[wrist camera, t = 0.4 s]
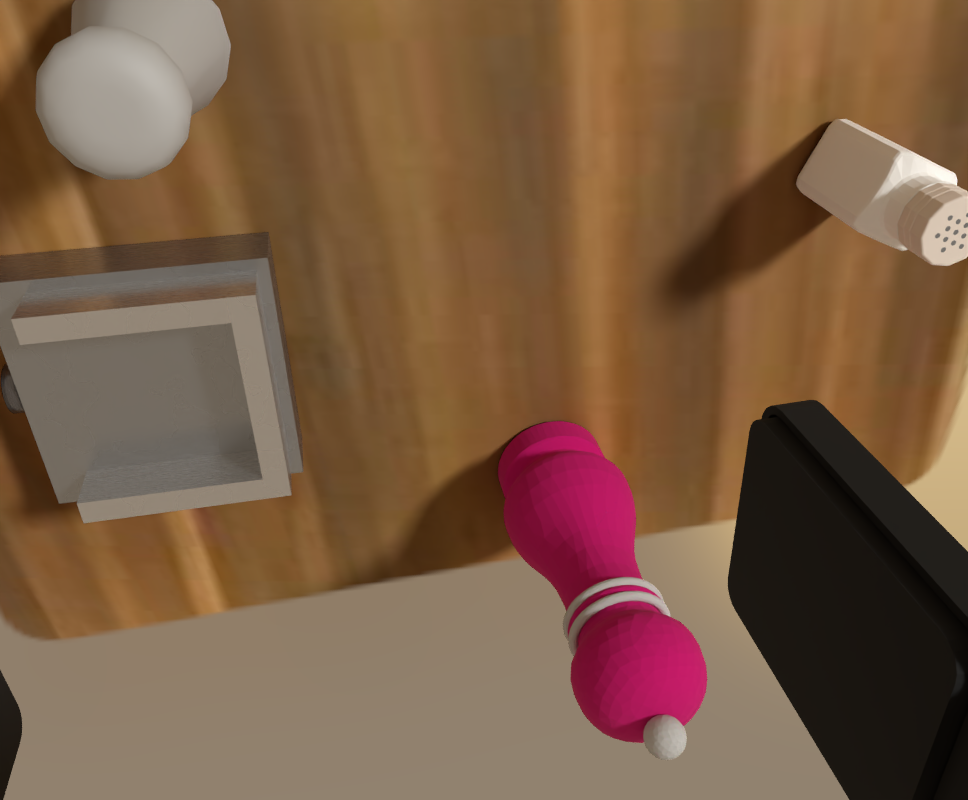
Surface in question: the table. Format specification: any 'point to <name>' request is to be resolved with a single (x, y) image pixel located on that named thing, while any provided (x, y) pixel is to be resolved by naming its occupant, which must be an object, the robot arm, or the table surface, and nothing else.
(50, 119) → the salt shaker
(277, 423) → the grey square tray
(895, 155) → the salt shaker
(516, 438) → the pepper mill
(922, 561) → the robot arm
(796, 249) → the table surface
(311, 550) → the table surface
